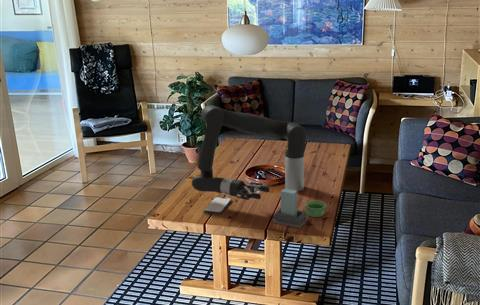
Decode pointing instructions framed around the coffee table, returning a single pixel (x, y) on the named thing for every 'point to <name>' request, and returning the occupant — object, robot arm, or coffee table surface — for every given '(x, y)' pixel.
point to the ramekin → (315, 208)
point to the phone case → (218, 205)
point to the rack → (290, 219)
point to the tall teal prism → (289, 202)
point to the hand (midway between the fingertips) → (264, 193)
